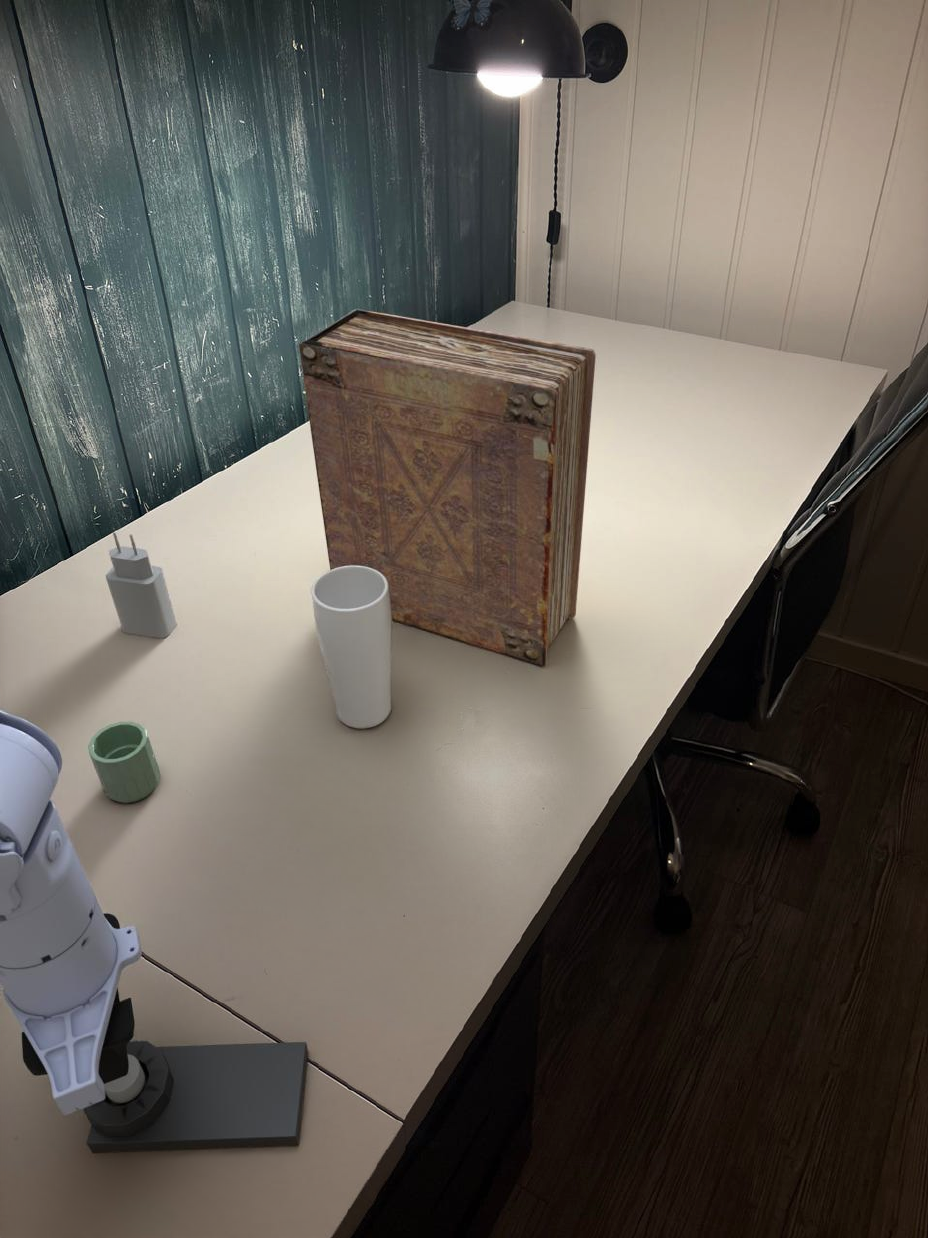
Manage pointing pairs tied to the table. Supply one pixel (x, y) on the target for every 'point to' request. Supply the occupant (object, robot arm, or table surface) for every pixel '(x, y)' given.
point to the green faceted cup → (124, 761)
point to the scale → (206, 1099)
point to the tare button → (126, 1083)
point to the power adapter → (139, 593)
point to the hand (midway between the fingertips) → (106, 1048)
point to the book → (454, 472)
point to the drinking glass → (355, 641)
